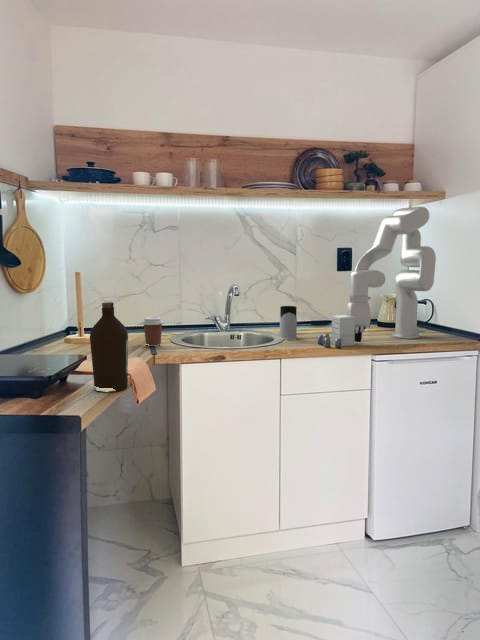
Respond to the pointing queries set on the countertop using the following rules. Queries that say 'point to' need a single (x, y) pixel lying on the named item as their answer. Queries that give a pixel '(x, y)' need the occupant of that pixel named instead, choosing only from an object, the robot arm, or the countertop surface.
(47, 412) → the countertop surface
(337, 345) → the stub cradle
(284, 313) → the glass holder
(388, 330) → the countertop surface
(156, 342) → the coffee cup
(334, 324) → the supplement box
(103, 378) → the olive oil
